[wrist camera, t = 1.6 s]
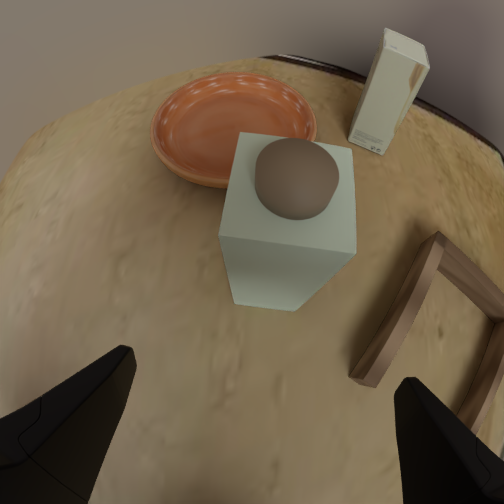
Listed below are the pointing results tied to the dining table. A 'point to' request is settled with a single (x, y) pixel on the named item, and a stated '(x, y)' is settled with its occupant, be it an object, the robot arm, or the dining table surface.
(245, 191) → the block
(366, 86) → the skincare box
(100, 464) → the robot arm
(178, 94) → the saucer
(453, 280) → the box
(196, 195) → the dining table surface
